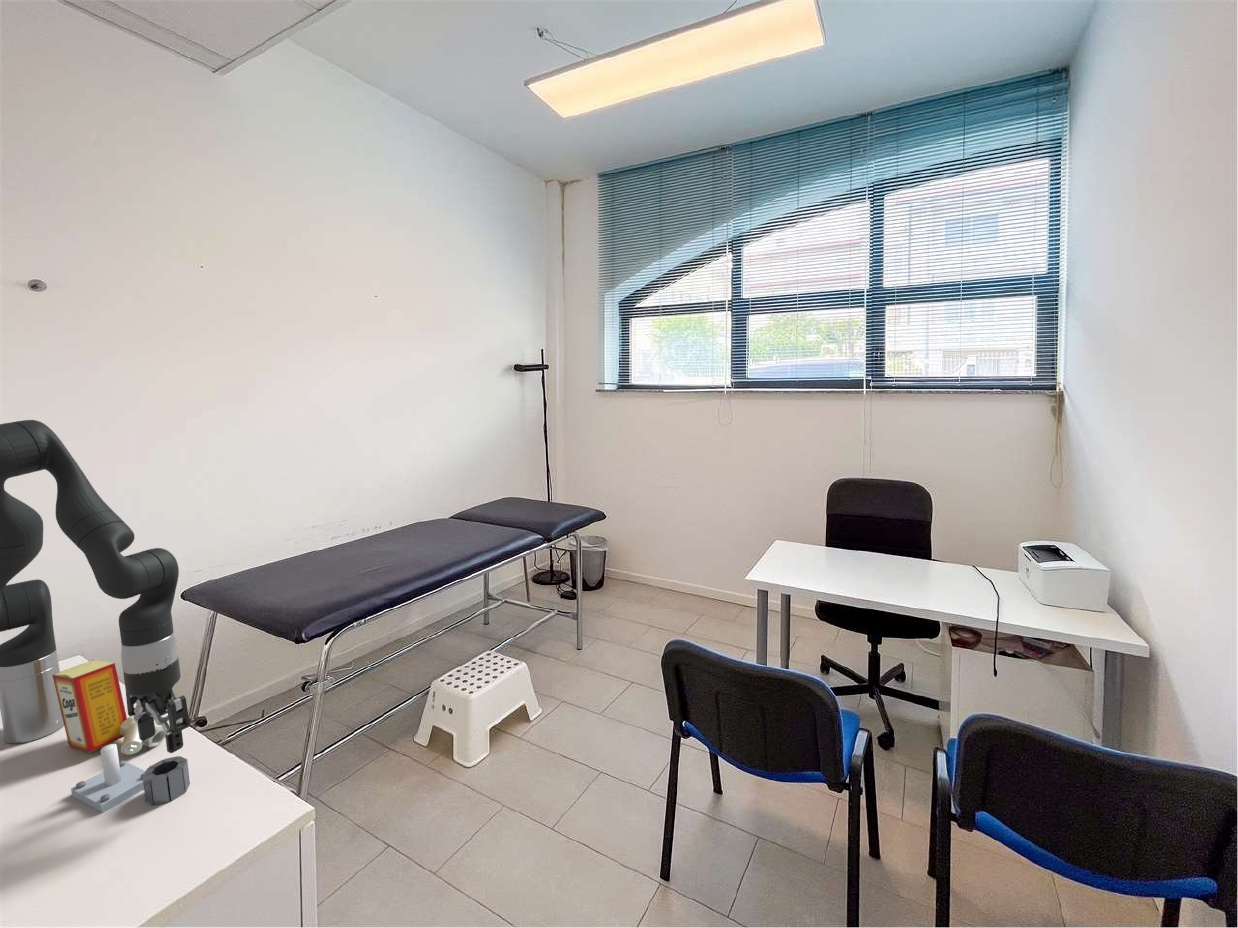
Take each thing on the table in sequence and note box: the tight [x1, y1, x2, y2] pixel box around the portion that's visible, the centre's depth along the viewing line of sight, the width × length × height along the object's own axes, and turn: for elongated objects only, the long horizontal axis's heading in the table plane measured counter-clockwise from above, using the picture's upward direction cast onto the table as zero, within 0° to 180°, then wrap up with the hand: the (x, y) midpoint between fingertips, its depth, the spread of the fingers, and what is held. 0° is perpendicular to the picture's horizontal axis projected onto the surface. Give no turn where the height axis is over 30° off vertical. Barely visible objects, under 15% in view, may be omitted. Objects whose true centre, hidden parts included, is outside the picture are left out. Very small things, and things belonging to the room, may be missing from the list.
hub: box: [142, 755, 191, 806], centre depth 100 cm, size 6×6×5 cm
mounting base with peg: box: [70, 743, 146, 814], centre depth 100 cm, size 10×8×8 cm
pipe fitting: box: [119, 715, 166, 756], centre depth 111 cm, size 8×4×7 cm
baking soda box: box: [53, 659, 128, 754], centre depth 113 cm, size 10×6×16 cm
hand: (161, 743), depth 99 cm, fingers open, 8 cm apart
